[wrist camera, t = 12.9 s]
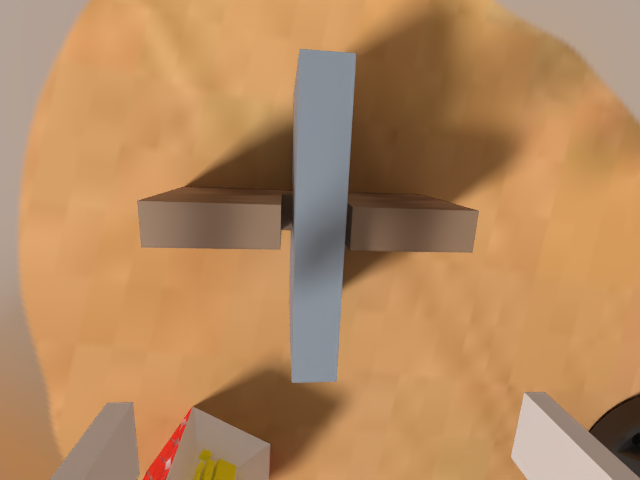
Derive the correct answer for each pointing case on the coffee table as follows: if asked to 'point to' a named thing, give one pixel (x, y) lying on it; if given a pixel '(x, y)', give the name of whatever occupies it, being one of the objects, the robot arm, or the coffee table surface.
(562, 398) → the coffee table surface
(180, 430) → the red patterned cube
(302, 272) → the grey slotted plate
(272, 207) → the walnut slotted upright
